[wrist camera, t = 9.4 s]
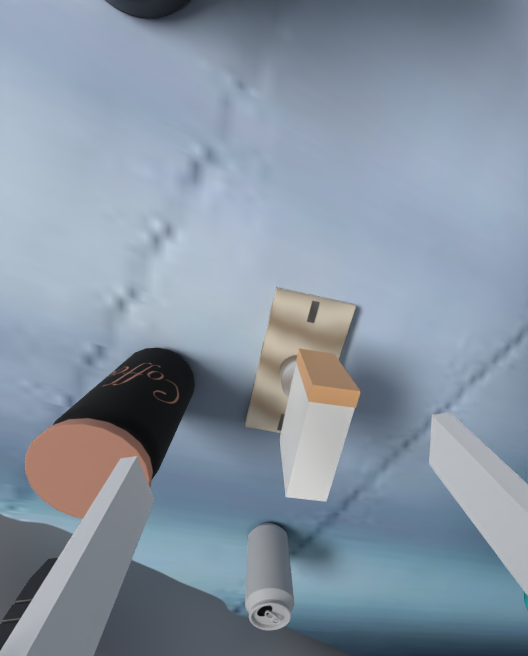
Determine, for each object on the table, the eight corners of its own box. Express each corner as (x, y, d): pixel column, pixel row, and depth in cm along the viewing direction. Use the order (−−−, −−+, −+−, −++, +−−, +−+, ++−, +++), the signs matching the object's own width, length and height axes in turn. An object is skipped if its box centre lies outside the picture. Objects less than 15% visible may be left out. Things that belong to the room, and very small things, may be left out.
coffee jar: (206, 360, 39) (166, 449, 22) (183, 417, 42) (131, 534, 25) (136, 333, 38) (35, 405, 21) (117, 393, 41) (13, 500, 24)
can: (264, 513, 49) (265, 595, 37) (295, 531, 50) (306, 615, 39) (240, 537, 50) (234, 623, 39) (271, 553, 52) (274, 640, 40)
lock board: (276, 287, 36) (279, 294, 31) (352, 303, 37) (367, 313, 32) (245, 420, 43) (243, 445, 37) (311, 432, 44) (318, 457, 38)
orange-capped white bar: (277, 422, 36) (285, 497, 25) (295, 338, 32) (312, 384, 22) (306, 426, 36) (327, 502, 26) (327, 343, 33) (360, 391, 22)
